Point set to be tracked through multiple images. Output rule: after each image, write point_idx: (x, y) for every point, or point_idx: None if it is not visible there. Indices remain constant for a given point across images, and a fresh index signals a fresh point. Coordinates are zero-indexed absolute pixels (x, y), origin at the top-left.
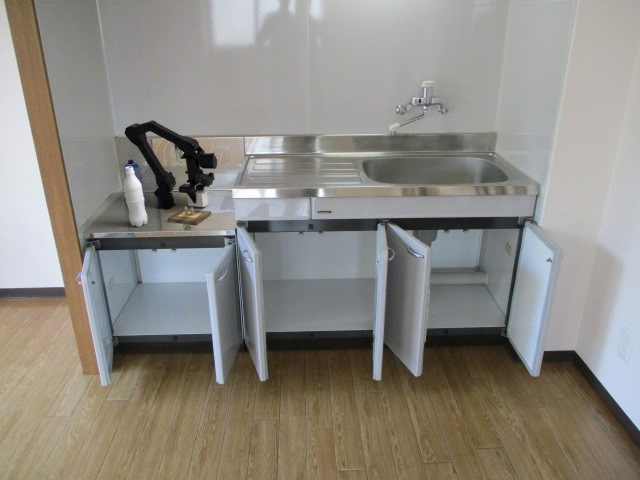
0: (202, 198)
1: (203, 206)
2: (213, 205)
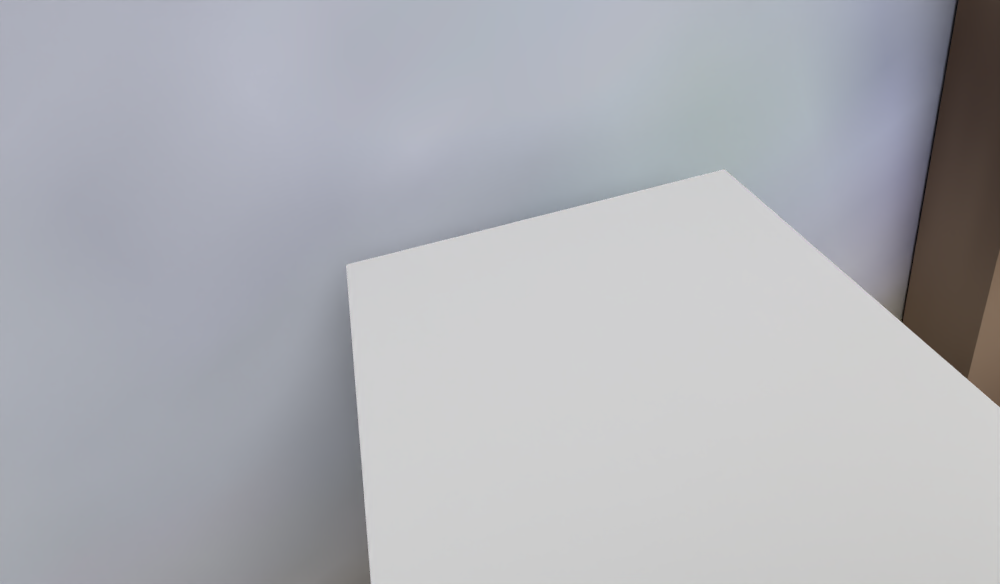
0: (969, 410)
1: (724, 183)
2: (143, 140)
